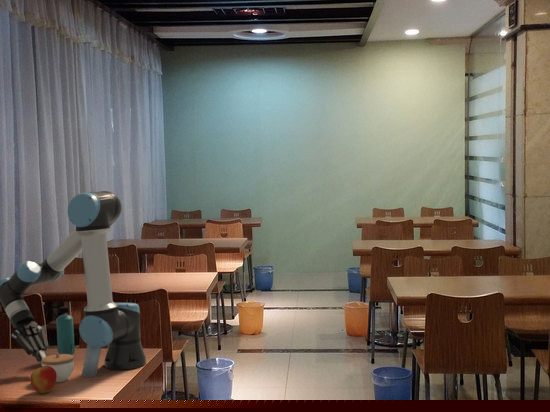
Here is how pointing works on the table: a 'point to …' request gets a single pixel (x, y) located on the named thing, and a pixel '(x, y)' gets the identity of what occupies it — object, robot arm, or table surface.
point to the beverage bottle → (65, 332)
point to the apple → (43, 379)
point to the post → (91, 361)
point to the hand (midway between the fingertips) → (47, 367)
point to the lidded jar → (60, 365)
